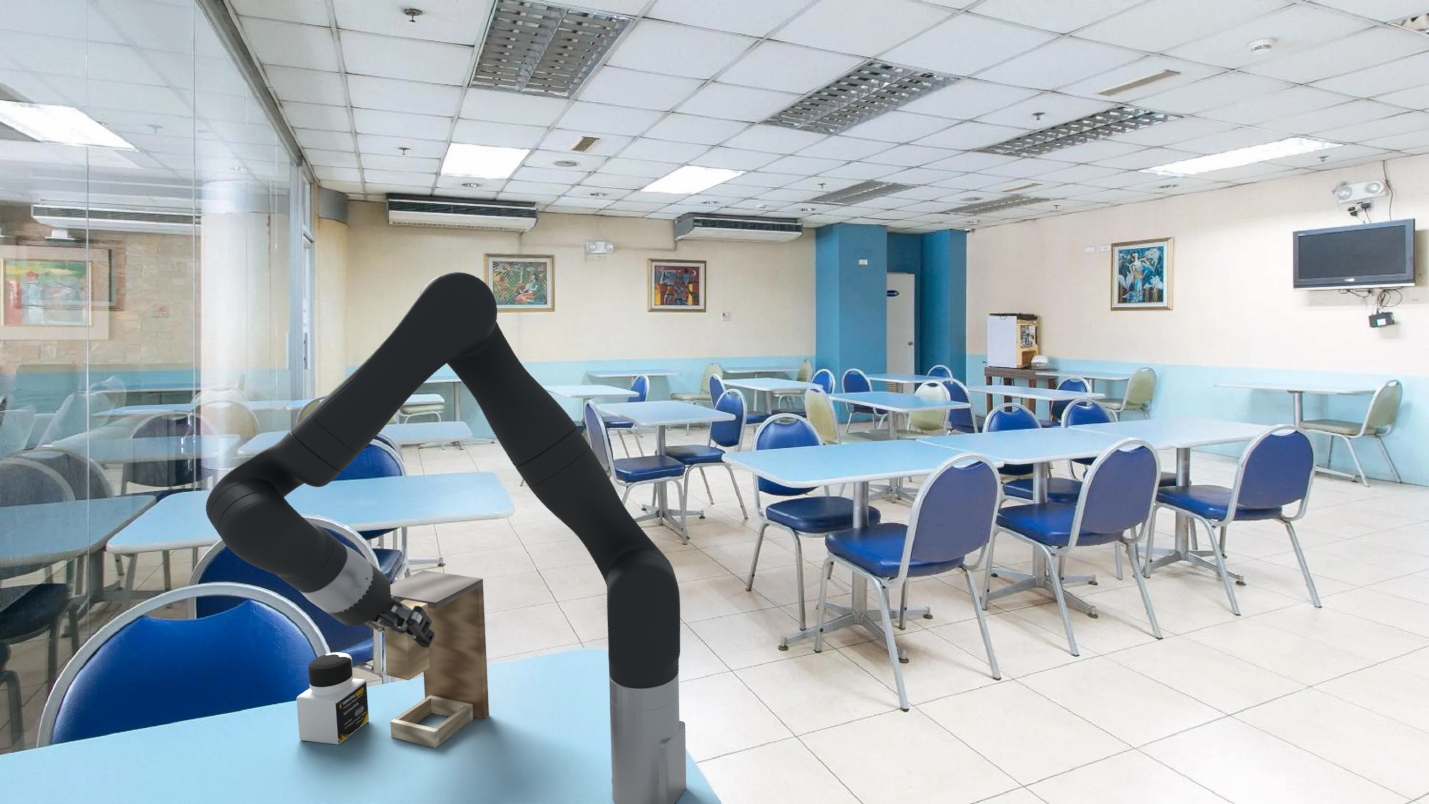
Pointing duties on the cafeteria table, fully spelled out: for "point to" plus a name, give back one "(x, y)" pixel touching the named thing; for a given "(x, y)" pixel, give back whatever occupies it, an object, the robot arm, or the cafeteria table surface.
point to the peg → (405, 651)
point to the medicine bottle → (332, 701)
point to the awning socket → (447, 655)
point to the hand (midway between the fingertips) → (416, 638)
